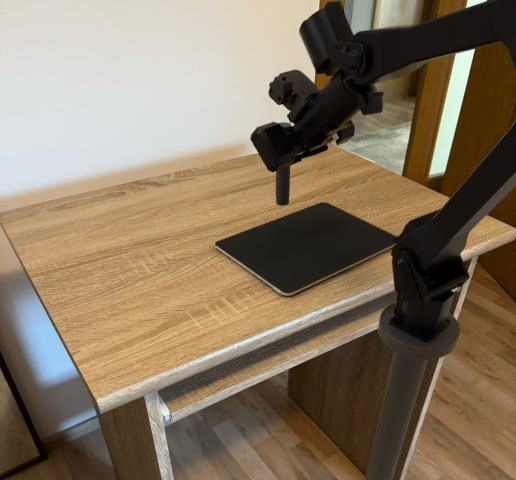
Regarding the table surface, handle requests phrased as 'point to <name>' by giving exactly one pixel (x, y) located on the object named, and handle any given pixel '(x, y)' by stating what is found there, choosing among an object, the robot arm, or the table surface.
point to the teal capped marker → (283, 180)
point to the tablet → (305, 247)
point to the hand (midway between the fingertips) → (277, 163)
